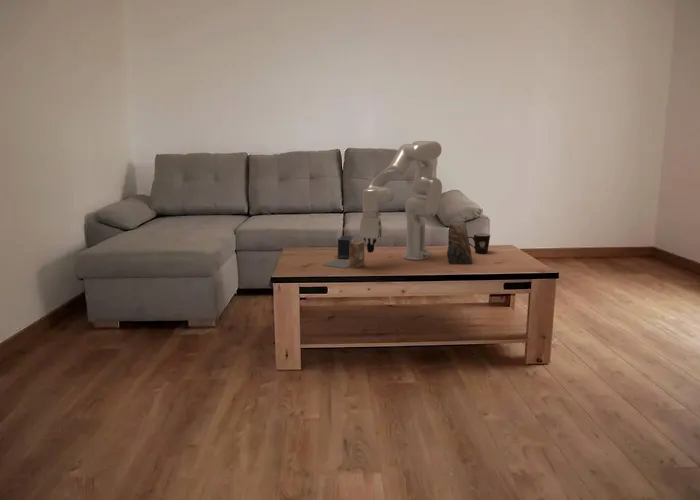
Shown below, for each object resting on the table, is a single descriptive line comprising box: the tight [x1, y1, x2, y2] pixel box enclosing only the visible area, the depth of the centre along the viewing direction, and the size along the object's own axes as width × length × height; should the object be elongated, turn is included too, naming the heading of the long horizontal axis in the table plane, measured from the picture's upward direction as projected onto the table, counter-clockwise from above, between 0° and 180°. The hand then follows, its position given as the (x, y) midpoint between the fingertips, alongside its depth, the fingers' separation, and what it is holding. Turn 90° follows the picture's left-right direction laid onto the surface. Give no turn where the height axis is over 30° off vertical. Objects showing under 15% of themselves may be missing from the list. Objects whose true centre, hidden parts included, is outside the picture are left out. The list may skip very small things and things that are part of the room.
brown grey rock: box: [446, 221, 473, 265], centre depth 295 cm, size 13×13×20 cm
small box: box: [337, 235, 354, 260], centre depth 308 cm, size 11×6×10 cm, turn 168°
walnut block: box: [348, 240, 365, 269], centre depth 288 cm, size 5×6×12 cm
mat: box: [322, 258, 351, 269], centre depth 294 cm, size 13×13×1 cm
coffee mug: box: [468, 232, 491, 255], centre depth 316 cm, size 12×9×10 cm
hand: (370, 251), depth 284 cm, fingers closed
